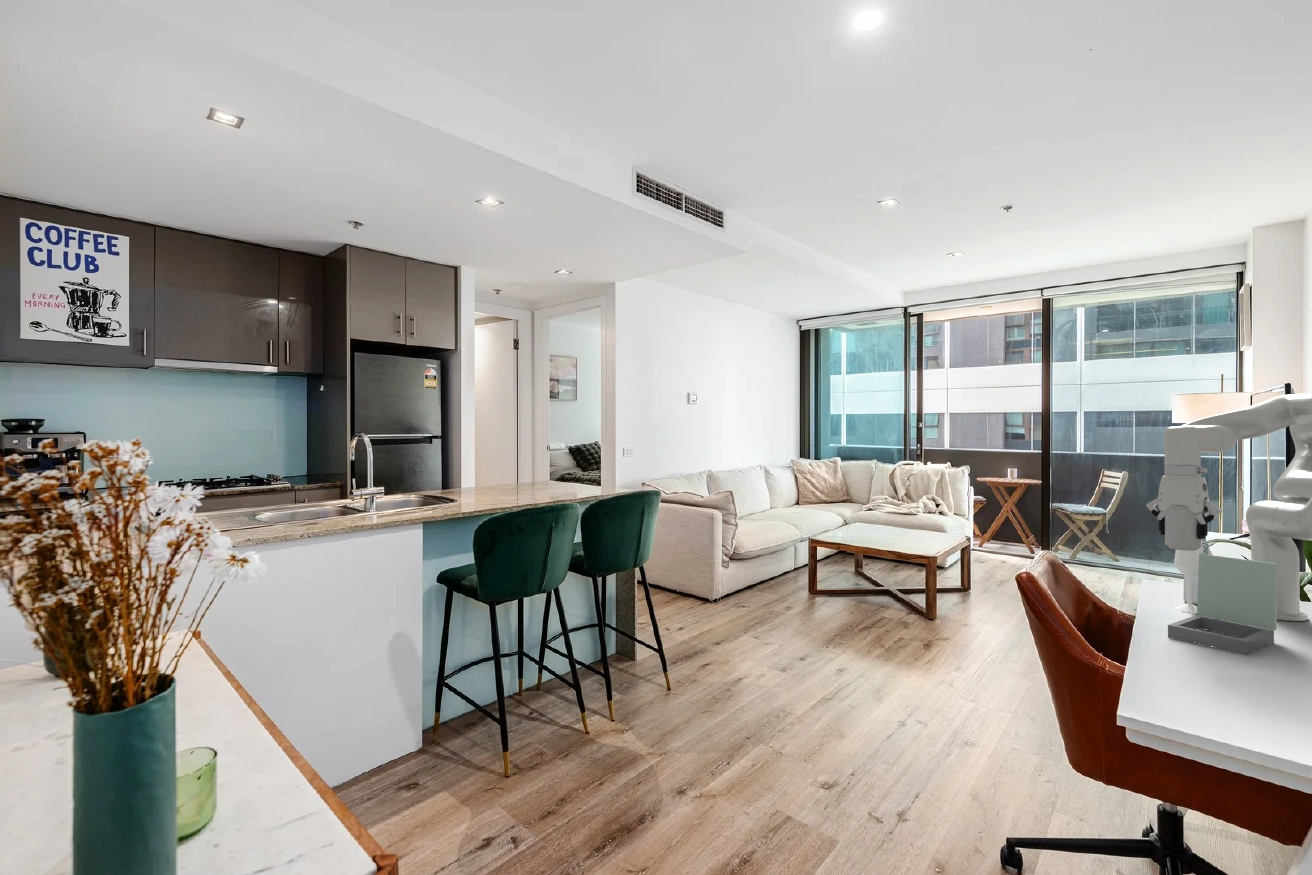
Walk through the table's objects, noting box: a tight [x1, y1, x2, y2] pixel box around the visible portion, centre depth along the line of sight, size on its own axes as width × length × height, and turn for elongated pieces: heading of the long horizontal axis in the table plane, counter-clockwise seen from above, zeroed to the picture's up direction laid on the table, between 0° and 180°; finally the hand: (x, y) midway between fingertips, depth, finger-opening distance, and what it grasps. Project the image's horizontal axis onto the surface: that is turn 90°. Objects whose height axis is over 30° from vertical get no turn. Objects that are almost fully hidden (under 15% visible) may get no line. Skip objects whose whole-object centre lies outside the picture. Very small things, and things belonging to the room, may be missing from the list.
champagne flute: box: [1173, 539, 1205, 614], centre depth 178 cm, size 7×7×24 cm
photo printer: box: [1183, 574, 1198, 605], centre depth 183 cm, size 10×4×12 cm, turn 17°
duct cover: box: [1196, 553, 1278, 631], centre depth 158 cm, size 16×15×1 cm
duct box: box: [1167, 614, 1275, 656], centre depth 153 cm, size 16×15×3 cm
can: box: [1164, 505, 1201, 551], centre depth 169 cm, size 8×8×12 cm
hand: (1182, 536), depth 169 cm, fingers closed on can, 7 cm apart
